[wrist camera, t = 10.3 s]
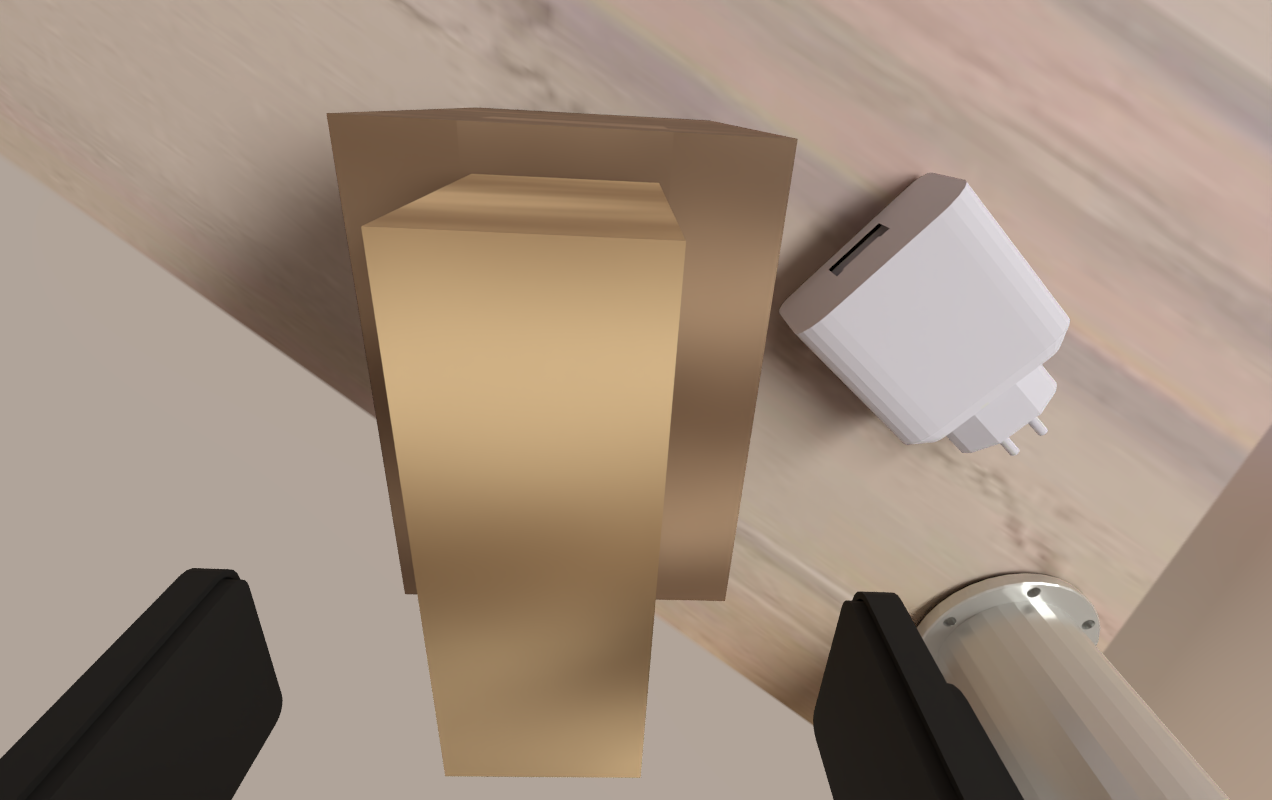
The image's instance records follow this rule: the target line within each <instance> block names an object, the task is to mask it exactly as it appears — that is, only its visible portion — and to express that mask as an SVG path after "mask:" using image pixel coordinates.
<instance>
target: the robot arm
mask: <svg viewBox="0 0 1272 800" xmlns="http://www.w3.org/2000/svg"><path fill="white" fill-rule="evenodd" d="M1099 634H1100V622H1099V616H1098V614H1097V612H1096V610H1095V608H1094V606H1093V605H1092V604H1091V602H1090V601H1089V600H1088V599H1087V598H1086V597H1085V596H1084V595H1083V594H1082V592H1080V591H1079V590H1078V589H1077V588H1075V587H1074V586H1073V585H1072V584H1070V583H1068V582H1066V581H1063V580H1061V579H1059V578H1056V577H1052V576H1047V575H1043V574H1029V573H1021V574H1010V575H1003V576H998V577H994V578H989V579H986V580H983V581H980V582H977V583H974V584H972V585H969V586H967V587H965V588H963V589H961V590H959V591H957V592H955V593H953V594H952V595H950V596H949V597H948V598H946V599H945V600H943V601H942V602H940V603H939V604H938V605H937V606H936V607H935V608H933V609H932V610H931V611H930V612H929V613H928V614H927V615H926V616H925V618H924V619H923V620H922V622H921V623H920V624H919V626H918V627H917V628H916V626H915V624H914V622H913V621H912V619H911V617H910V615H909V613H908V612H907V610H906V608H905V606H904V604H903V602H902V601H901V599H900V598H899V596H898V595H896V594H895V593H886V592H857V593H856V594H855V595H854V598H853V600H852V601H845V602H844V603H843V605H842V608H841V612H840V616H839V620H838V623H837V627H836V631H835V635H834V638H833V642H832V646H831V650H830V653H829V657H828V661H827V665H826V669H825V672H824V676H823V680H822V684H821V687H820V691H819V695H818V699H817V702H816V706H815V710H814V716H813V724H814V732H815V737H816V741H817V744H818V748H819V751H820V755H821V758H822V761H823V765H824V768H825V772H826V775H827V778H828V782H829V785H830V789H831V792H832V795H833V799H834V800H1230V799H1229V798H1228V797H1227V796H1226V795H1225V793H1224V792H1223V791H1222V790H1221V789H1220V788H1219V787H1218V785H1217V784H1216V783H1215V782H1214V781H1213V780H1212V779H1211V777H1210V776H1209V775H1208V774H1207V773H1206V772H1205V771H1204V769H1203V768H1202V767H1201V766H1200V765H1199V764H1198V762H1197V761H1196V760H1195V759H1194V758H1193V757H1192V756H1191V755H1190V753H1189V752H1188V751H1187V750H1186V749H1185V748H1184V747H1183V745H1181V743H1180V742H1179V741H1178V740H1177V739H1176V737H1175V736H1174V735H1173V734H1172V733H1171V732H1170V730H1169V729H1168V728H1167V727H1166V726H1165V725H1164V724H1163V722H1162V721H1161V720H1160V719H1159V718H1158V717H1157V715H1156V714H1155V713H1154V712H1153V711H1152V710H1151V709H1150V707H1149V706H1148V705H1147V704H1146V703H1145V702H1144V701H1143V699H1142V698H1141V697H1140V696H1139V695H1138V694H1137V693H1136V691H1135V690H1134V689H1133V688H1132V687H1131V686H1130V685H1129V683H1128V682H1127V681H1126V680H1125V679H1124V678H1123V677H1122V676H1121V674H1120V673H1119V672H1118V671H1117V670H1116V669H1115V667H1114V666H1113V665H1112V664H1111V663H1110V662H1109V660H1108V659H1107V658H1106V657H1105V656H1104V655H1103V654H1102V652H1101V651H1100V650H1099V649H1098V648H1097V647H1096V645H1097V643H1098V640H1099ZM281 709H282V694H281V691H280V687H279V684H278V681H277V678H276V674H275V671H274V668H273V664H272V661H271V657H270V654H269V651H268V648H267V644H266V641H265V638H264V634H263V631H262V628H261V625H260V621H259V618H258V614H257V611H256V608H255V605H254V601H253V598H252V594H251V591H250V588H249V585H248V583H247V582H246V581H245V580H240V578H239V576H238V574H237V573H236V572H235V571H234V570H229V569H201V568H192V569H189V570H187V571H185V572H184V573H183V574H181V575H180V576H179V577H178V578H177V579H176V580H175V582H173V583H172V584H171V585H170V586H169V587H168V588H167V589H166V591H165V592H164V593H163V594H162V595H161V596H160V597H159V598H158V599H157V600H156V601H155V602H154V603H153V604H152V605H151V606H150V607H149V608H148V609H147V610H146V611H145V612H144V613H143V614H142V615H141V616H140V617H139V618H138V619H137V620H136V621H135V622H134V623H133V624H132V625H131V626H130V627H129V628H128V629H127V630H126V631H125V632H124V633H123V634H122V635H121V636H120V637H119V639H117V640H116V641H115V643H113V645H112V646H111V647H110V648H109V649H108V650H107V651H106V652H105V653H104V654H103V655H102V656H101V657H100V658H99V659H98V660H97V661H96V662H95V663H94V664H93V665H92V666H91V667H90V668H89V669H88V670H87V671H86V672H85V673H84V674H83V675H82V676H81V677H80V678H79V679H78V680H77V681H76V682H75V683H74V684H73V685H72V686H71V687H70V688H69V689H68V690H67V692H65V693H64V694H63V695H62V696H61V697H60V699H59V700H58V701H57V702H56V703H55V704H54V705H53V706H52V707H51V708H50V709H49V710H48V711H47V712H46V713H45V714H44V715H43V716H42V717H41V718H40V719H39V720H38V721H37V722H36V723H35V724H34V725H33V726H32V727H31V728H30V729H29V730H28V731H27V732H26V733H25V734H24V735H23V736H22V737H21V738H20V739H19V740H18V741H17V742H16V743H15V744H14V745H13V746H12V748H11V749H10V750H8V752H7V753H6V754H5V755H4V756H3V757H2V758H1V759H0V800H231V799H232V798H233V796H234V794H235V793H236V791H237V789H238V787H239V786H240V784H241V782H242V781H243V779H244V777H245V776H246V774H247V772H248V770H249V768H250V767H251V765H252V764H253V762H254V760H255V758H256V757H257V755H258V753H259V752H260V750H261V748H262V747H263V745H264V743H265V741H266V740H267V738H268V736H269V735H270V733H271V731H272V729H273V728H274V726H275V724H276V722H277V720H278V718H279V715H280V713H281Z"/></svg>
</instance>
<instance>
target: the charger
mask: <svg viewBox="0 0 1272 800" xmlns="http://www.w3.org/2000/svg"><path fill="white" fill-rule="evenodd" d="M879 223H880V224H882V226H881V227H880V228H879V229H878V230H876V231H875V232H874V233H873V234H872V235H871V236H870V237H869V238H868V239H867V240H866V241H864V242H863V243H862V244H861V245H860V246H859V247H858V248H857V249H856V250H855V251H854V252H852V253H851V254H850V255H849V256H848V257H847V258H846V259H845V260H844V261H843V262H841V263H840V264H839V265H838V266H837V267H836V268H835V269H834V270H833V271H832V272H831V271H829V269H830V268H831V267H832V266H833V265H834V264H835V263H836V262H837V261H838V260H839V259H840V258H841V257H843V256H844V255H845V254H846V253H847V252H848V251H849V250H850V249H851V248H852V247H853V246H855V245H856V244H857V243H858V242H859V241H860V240H861V239H862V238H863V237H864V236H865V235H866V234H868V233H869V232H870V231H871V230H872V229H873V228H874V227H875V226H876V225H877V224H879ZM779 313H780V315H781V316H782V317H783V319H784V320H785V321H786V323H787V324H788V325H789V327H790V328H791V329H792V331H793V332H794V333H795V334H796V335H797V336H798V337H799V338H800V339H801V340H802V341H803V342H804V343H805V344H806V345H807V346H808V347H809V348H810V349H811V350H812V351H813V352H814V353H815V354H816V355H817V356H818V357H819V358H820V359H821V360H822V361H823V362H824V364H825V365H826V366H827V367H828V368H829V369H830V370H831V371H832V372H833V373H834V374H835V375H836V376H837V377H838V378H839V379H840V380H841V381H842V382H843V383H844V384H845V385H846V386H847V387H848V388H849V389H850V390H851V391H852V392H853V393H854V394H855V395H856V396H857V397H858V398H859V399H860V400H861V401H862V402H863V403H864V404H865V405H866V406H867V407H868V408H869V409H870V410H871V411H872V412H873V413H874V414H875V415H876V416H877V417H878V418H879V419H880V420H881V421H882V422H883V423H884V424H885V425H886V426H887V427H888V428H889V429H890V430H891V431H892V432H893V433H894V434H895V435H896V436H897V437H898V438H899V439H900V440H901V441H902V442H903V443H905V444H907V445H908V444H920V443H931V442H936V441H939V440H940V439H942V438H944V437H945V436H947V437H948V438H949V439H950V440H951V441H952V442H953V444H954V445H955V446H956V447H957V448H958V449H959V450H960V451H961V452H962V453H972V452H975V451H978V450H981V449H984V448H987V447H990V446H994V445H997V444H1001V445H1002V446H1003V447H1004V448H1005V450H1006V451H1007V452H1008V453H1009V454H1010V455H1017V454H1018V453H1019V449H1018V447H1017V446H1016V445H1015V444H1014V443H1013V442H1012V441H1011V440H1010V438H1009V437H1010V436H1011V435H1012V434H1014V433H1015V432H1016V431H1018V430H1019V429H1021V428H1022V427H1023V426H1025V425H1026V424H1029V425H1030V426H1031V427H1032V428H1033V429H1034V431H1035V432H1036V433H1037V434H1038V435H1040V436H1041V435H1045V434H1046V433H1047V431H1048V429H1047V428H1046V427H1045V426H1044V424H1043V423H1042V422H1041V421H1040V420H1039V419H1038V417H1037V416H1039V415H1040V414H1041V413H1042V411H1043V410H1044V408H1045V407H1046V405H1047V404H1048V402H1049V401H1050V399H1051V398H1052V396H1053V395H1054V393H1055V392H1056V386H1057V383H1056V382H1055V381H1054V379H1053V378H1052V377H1051V376H1050V374H1049V373H1048V372H1047V371H1046V369H1045V368H1044V367H1043V366H1042V364H1043V363H1044V362H1045V361H1047V360H1048V359H1049V358H1050V357H1052V356H1053V355H1054V354H1055V353H1056V352H1057V351H1058V349H1059V348H1060V346H1061V343H1062V341H1063V338H1064V336H1065V334H1066V331H1067V329H1068V326H1069V323H1070V319H1069V317H1068V316H1067V315H1066V313H1065V312H1064V311H1063V309H1062V308H1061V307H1060V305H1059V304H1058V303H1057V301H1056V300H1055V299H1054V297H1053V296H1052V295H1051V293H1050V292H1049V291H1048V289H1047V288H1046V287H1045V285H1044V284H1043V283H1042V281H1041V280H1040V279H1039V277H1038V276H1037V275H1036V273H1035V272H1034V271H1033V269H1032V268H1031V267H1030V265H1029V264H1028V263H1027V261H1026V260H1025V259H1024V257H1023V256H1022V255H1021V253H1020V252H1019V251H1018V249H1017V248H1016V247H1015V245H1014V244H1013V243H1012V241H1011V240H1010V239H1009V237H1008V236H1007V235H1006V233H1005V232H1004V231H1003V229H1002V228H1001V227H1000V225H999V224H998V223H997V222H996V220H995V219H994V218H993V216H992V215H991V214H990V212H989V211H988V210H987V208H986V207H985V206H984V204H983V203H982V202H981V200H980V199H979V198H978V196H977V195H976V194H975V192H974V191H973V190H972V188H971V187H970V186H969V184H968V183H967V182H966V180H963V179H958V178H954V177H949V176H945V175H940V174H936V173H927V174H925V175H923V176H921V177H920V178H918V179H917V180H915V181H914V182H913V183H912V184H911V185H909V186H908V187H907V188H906V189H905V190H904V191H903V192H902V193H901V194H900V195H899V196H897V197H896V198H895V199H894V200H893V201H892V202H891V203H890V204H889V205H888V206H887V207H885V208H884V209H883V210H882V211H881V212H880V213H879V214H878V215H877V216H876V217H875V218H874V219H872V220H871V221H870V222H869V223H868V224H867V225H866V226H865V227H864V228H863V229H862V230H861V231H859V232H858V233H857V234H856V235H855V236H854V237H853V238H852V239H851V240H850V241H849V242H848V243H847V244H845V245H844V246H843V247H842V248H841V249H840V250H839V251H838V252H837V253H836V254H835V255H834V256H832V257H831V258H830V259H829V260H828V261H827V262H826V263H825V264H824V265H823V266H822V267H821V268H819V269H818V270H817V271H816V272H815V273H814V274H813V275H812V276H811V277H810V278H809V279H808V280H806V281H805V282H804V283H803V284H802V285H801V286H800V287H799V288H798V289H797V290H796V291H795V292H794V293H793V294H791V295H790V296H789V297H788V298H787V299H786V300H785V301H784V303H783V304H782V305H781V307H780V309H779Z"/></svg>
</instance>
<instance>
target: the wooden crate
mask: <svg viewBox="0 0 1272 800" xmlns="http://www.w3.org/2000/svg"><path fill="white" fill-rule="evenodd" d="M327 119H328V126H329V132H330V138H331V144H332V150H333V156H334V162H335V168H336V174H337V181H338V187H339V193H340V199H341V205H342V211H343V217H344V223H345V230H346V236H347V242H348V248H349V254H350V260H351V266H352V272H353V278H354V285H355V291H356V297H357V303H358V309H359V315H360V321H361V327H362V333H363V340H364V346H365V352H366V358H367V364H368V370H369V376H370V382H371V388H372V395H373V401H374V407H375V413H376V419H377V425H378V431H379V437H380V443H381V450H382V456H383V462H384V467H385V474H386V480H387V486H388V492H389V498H390V505H391V510H392V517H393V523H394V529H395V535H396V541H397V547H398V553H399V559H400V566H401V572H402V578H403V584H404V590H405V594H417V588H416V581H415V575H414V568H413V562H412V555H411V549H410V542H409V535H408V529H407V522H406V516H405V509H404V503H403V496H402V490H401V483H400V477H399V470H398V464H397V457H396V451H395V444H394V438H393V431H392V425H391V418H390V412H389V405H388V399H387V392H386V386H385V379H384V372H383V366H382V359H381V353H380V346H379V340H378V333H377V327H376V320H375V314H374V307H373V301H372V294H371V288H370V281H369V275H368V268H367V262H366V255H365V249H364V242H363V236H362V229H361V226H363V225H365V224H367V223H369V222H371V221H373V220H376V219H378V218H380V217H382V216H384V215H386V214H388V213H390V212H392V211H394V210H396V209H399V208H401V207H403V206H405V205H407V204H409V203H411V202H413V201H415V200H417V199H420V198H422V197H424V196H426V195H428V194H430V193H432V192H434V191H436V190H438V189H441V188H443V187H445V186H447V185H449V184H451V183H453V182H455V181H457V180H459V179H461V178H464V177H466V176H468V175H470V174H487V175H507V176H527V177H548V178H568V179H588V180H609V181H629V182H649V183H659V184H660V186H661V188H662V190H663V193H664V195H665V197H666V199H667V201H668V203H669V205H670V208H671V210H672V212H673V214H674V216H675V218H676V220H677V223H678V225H679V227H680V229H681V231H682V233H683V235H684V238H685V240H686V248H685V260H684V272H683V284H682V295H681V307H680V319H679V330H678V342H677V354H676V366H675V377H674V389H673V401H672V413H671V424H670V436H669V448H668V459H667V471H666V483H665V495H664V506H663V518H662V530H661V542H660V553H659V565H658V577H657V589H656V599H659V600H707V601H725V597H726V591H727V584H728V578H729V571H730V565H731V559H732V552H733V546H734V540H735V533H736V527H737V521H738V514H739V508H740V502H741V495H742V489H743V482H744V476H745V470H746V463H747V457H748V451H749V444H750V438H751V432H752V425H753V419H754V412H755V406H756V400H757V393H758V387H759V381H760V374H761V368H762V362H763V355H764V349H765V343H766V336H767V330H768V323H769V317H770V311H771V304H772V298H773V292H774V285H775V279H776V273H777V266H778V260H779V254H780V247H781V241H782V234H783V228H784V222H785V215H786V209H787V203H788V196H789V190H790V184H791V177H792V171H793V165H794V158H795V152H796V145H797V139H795V138H790V137H786V136H781V135H776V134H771V133H766V132H762V131H757V130H752V129H747V128H742V127H738V126H733V125H728V124H723V123H718V122H714V121H707V120H689V119H671V118H653V117H635V116H617V115H599V114H581V113H563V112H545V111H527V110H509V109H491V108H455V109H428V110H402V111H375V112H348V113H327Z"/></svg>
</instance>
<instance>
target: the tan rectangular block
mask: <svg viewBox="0 0 1272 800" xmlns="http://www.w3.org/2000/svg"><path fill="white" fill-rule="evenodd" d="M361 229H362V236H363V242H364V249H365V255H366V262H367V268H368V275H369V281H370V288H371V294H372V301H373V307H374V314H375V320H376V327H377V333H378V340H379V346H380V353H381V359H382V366H383V372H384V379H385V386H386V392H387V399H388V405H389V412H390V418H391V425H392V431H393V438H394V444H395V451H396V457H397V464H398V470H399V477H400V483H401V490H402V496H403V503H404V509H405V516H406V522H407V529H408V535H409V542H410V549H411V555H412V562H413V568H414V575H415V581H416V588H417V594H418V600H419V607H420V613H421V620H422V627H423V633H424V640H425V646H426V653H427V659H428V665H429V672H430V679H431V685H432V692H433V698H434V705H435V711H436V718H437V724H438V731H439V737H440V744H441V750H442V757H443V764H444V770H445V776H486V777H489V776H493V777H618V778H620V777H621V778H623V777H625V778H640V776H641V764H642V753H643V740H644V728H645V718H646V706H647V693H648V681H649V670H650V659H651V647H652V635H653V624H654V612H655V600H656V589H657V577H658V565H659V553H660V542H661V530H662V518H663V506H664V495H665V483H666V471H667V459H668V448H669V436H670V424H671V413H672V401H673V389H674V377H675V366H676V354H677V342H678V330H679V319H680V307H681V295H682V284H683V272H684V260H685V248H686V240H685V238H684V235H683V233H682V231H681V229H680V227H679V225H678V223H677V220H676V218H675V216H674V214H673V212H672V210H671V208H670V205H669V203H668V201H667V199H666V197H665V195H664V193H663V190H662V188H661V186H660V184H659V183H649V182H629V181H609V180H588V179H568V178H548V177H527V176H507V175H487V174H470V175H468V176H466V177H464V178H461V179H459V180H457V181H455V182H453V183H451V184H449V185H447V186H445V187H443V188H441V189H438V190H436V191H434V192H432V193H430V194H428V195H426V196H424V197H422V198H420V199H417V200H415V201H413V202H411V203H409V204H407V205H405V206H403V207H401V208H399V209H396V210H394V211H392V212H390V213H388V214H386V215H384V216H382V217H380V218H378V219H376V220H373V221H371V222H369V223H367V224H365V225H363V226H361Z"/></svg>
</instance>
